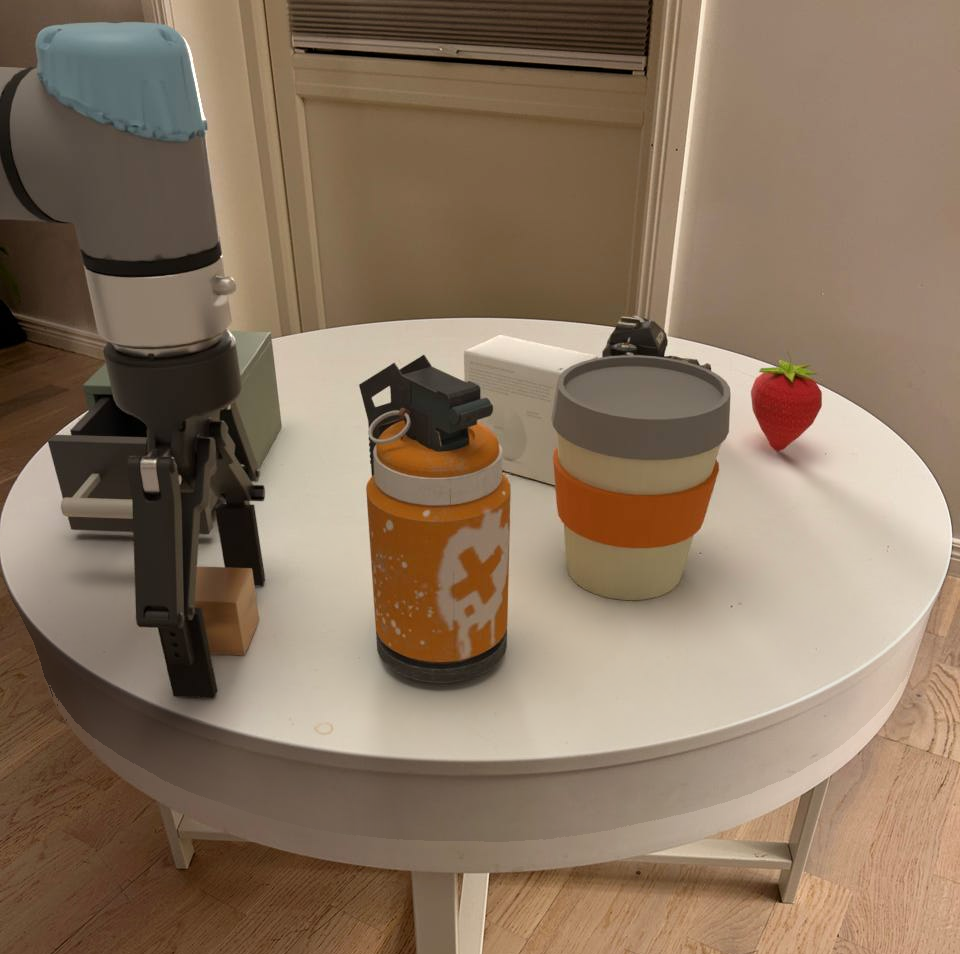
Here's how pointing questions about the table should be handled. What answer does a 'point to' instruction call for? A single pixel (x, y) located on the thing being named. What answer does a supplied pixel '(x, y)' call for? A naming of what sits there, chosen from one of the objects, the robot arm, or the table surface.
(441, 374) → the canister
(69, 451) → the open drawer
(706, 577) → the table surface
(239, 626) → the block
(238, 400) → the small drawer cabinet
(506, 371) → the cosmetics box
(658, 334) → the film camera
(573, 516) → the reusable coffee cup
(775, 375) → the strawberry
